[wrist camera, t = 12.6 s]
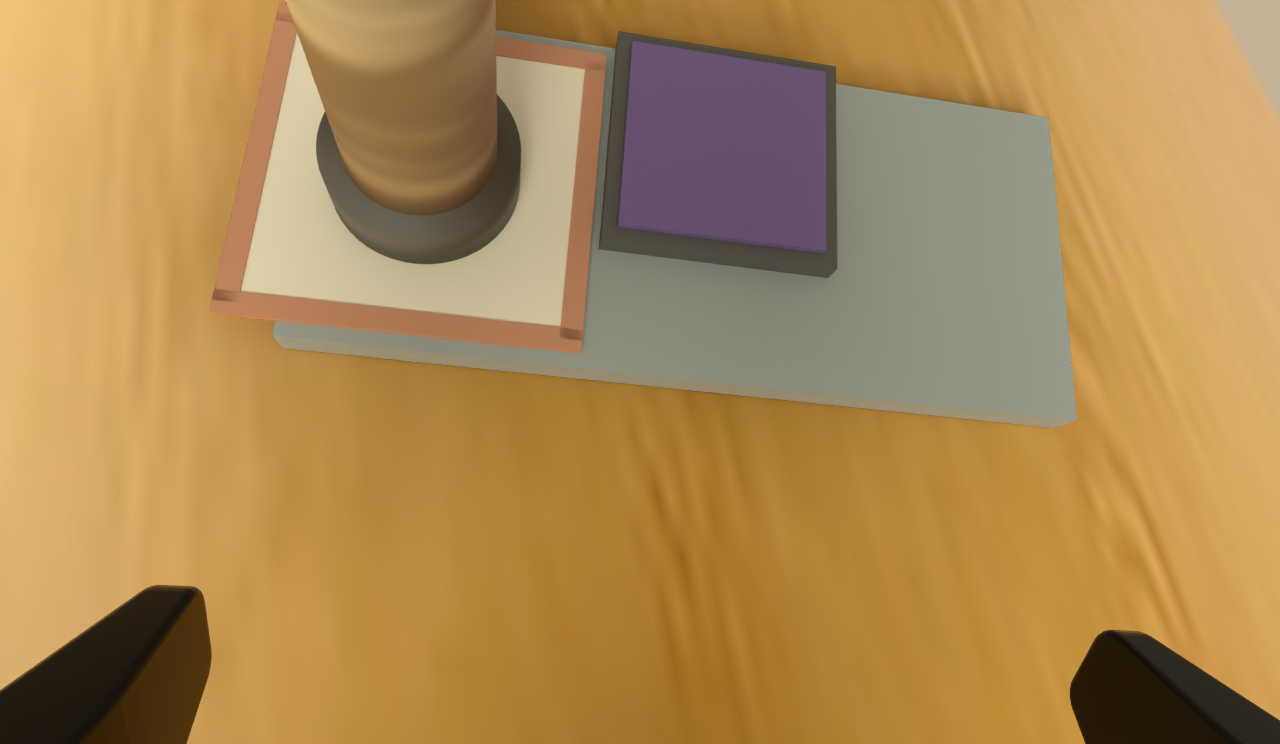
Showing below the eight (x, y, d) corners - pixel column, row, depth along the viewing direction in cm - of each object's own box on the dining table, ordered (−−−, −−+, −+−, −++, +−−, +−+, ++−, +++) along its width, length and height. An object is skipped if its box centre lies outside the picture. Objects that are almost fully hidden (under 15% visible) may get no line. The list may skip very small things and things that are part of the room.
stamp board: (221, 341, 21) (195, 316, 19) (292, 18, 24) (276, -30, 22) (1054, 428, 24) (1098, 413, 23) (1029, 133, 27) (1066, 99, 25)
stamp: (448, 299, 21) (373, -128, 9) (288, 195, 21) (-6, -371, 9) (555, 162, 23) (616, -363, 10) (405, 66, 23) (292, -568, 11)
